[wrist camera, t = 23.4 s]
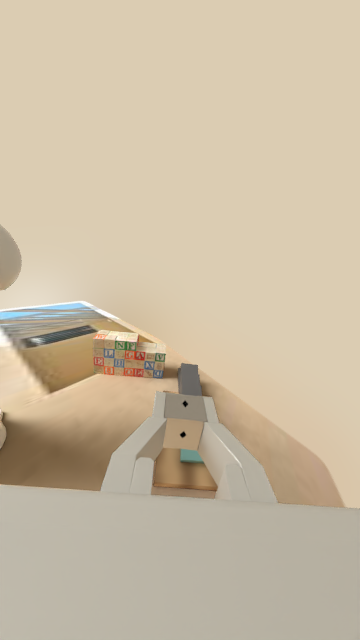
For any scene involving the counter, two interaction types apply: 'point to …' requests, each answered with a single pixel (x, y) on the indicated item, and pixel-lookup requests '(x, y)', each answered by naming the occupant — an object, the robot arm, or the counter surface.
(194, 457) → the domino
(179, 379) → the domino
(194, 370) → the domino
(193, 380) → the domino
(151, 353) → the stack of blocks
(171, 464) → the oak board
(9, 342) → the counter surface
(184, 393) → the domino
